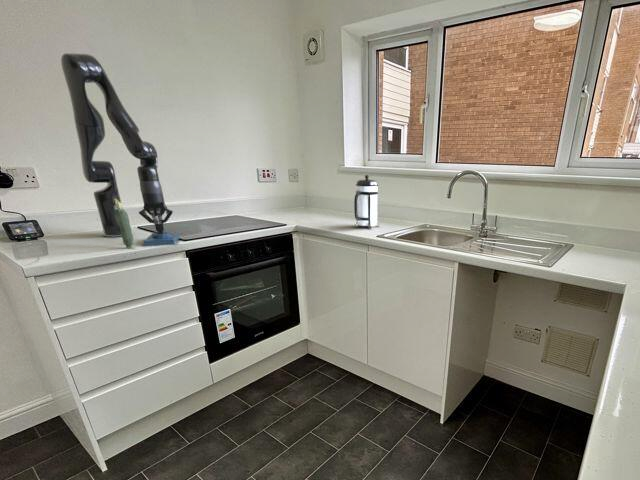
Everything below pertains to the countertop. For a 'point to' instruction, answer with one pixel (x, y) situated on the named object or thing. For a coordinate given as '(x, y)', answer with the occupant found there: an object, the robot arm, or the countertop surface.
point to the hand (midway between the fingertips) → (160, 232)
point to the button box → (161, 239)
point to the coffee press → (366, 202)
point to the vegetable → (123, 224)
